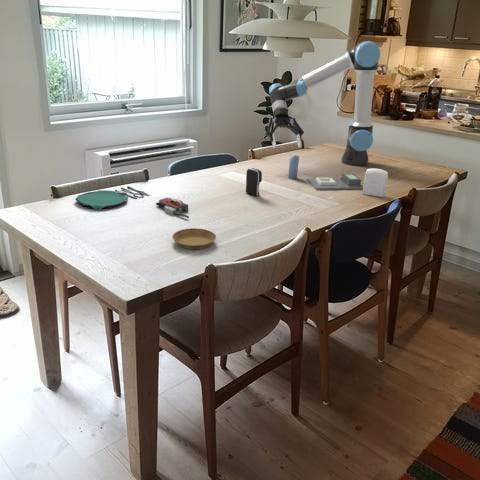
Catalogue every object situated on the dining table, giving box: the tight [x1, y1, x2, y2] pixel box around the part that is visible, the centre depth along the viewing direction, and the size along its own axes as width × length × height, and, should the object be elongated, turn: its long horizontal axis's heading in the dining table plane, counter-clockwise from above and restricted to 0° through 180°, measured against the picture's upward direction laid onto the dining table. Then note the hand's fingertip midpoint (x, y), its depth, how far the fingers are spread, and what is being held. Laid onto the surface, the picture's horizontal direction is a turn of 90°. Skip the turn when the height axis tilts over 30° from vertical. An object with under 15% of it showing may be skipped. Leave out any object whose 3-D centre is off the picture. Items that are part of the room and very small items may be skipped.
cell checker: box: [306, 173, 364, 191], centre depth 240 cm, size 24×16×4 cm, turn 100°
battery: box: [245, 167, 263, 197], centre depth 219 cm, size 7×4×11 cm, turn 42°
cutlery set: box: [75, 185, 150, 211], centre depth 206 cm, size 20×30×2 cm, turn 140°
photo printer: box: [362, 167, 389, 198], centre depth 226 cm, size 10×4×12 cm, turn 63°
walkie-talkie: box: [155, 197, 189, 219], centre depth 196 cm, size 9×4×20 cm
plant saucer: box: [172, 227, 217, 250], centre depth 169 cm, size 15×15×3 cm
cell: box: [287, 154, 300, 180], centre depth 246 cm, size 4×4×12 cm
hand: (287, 146), depth 251 cm, fingers open, 13 cm apart
